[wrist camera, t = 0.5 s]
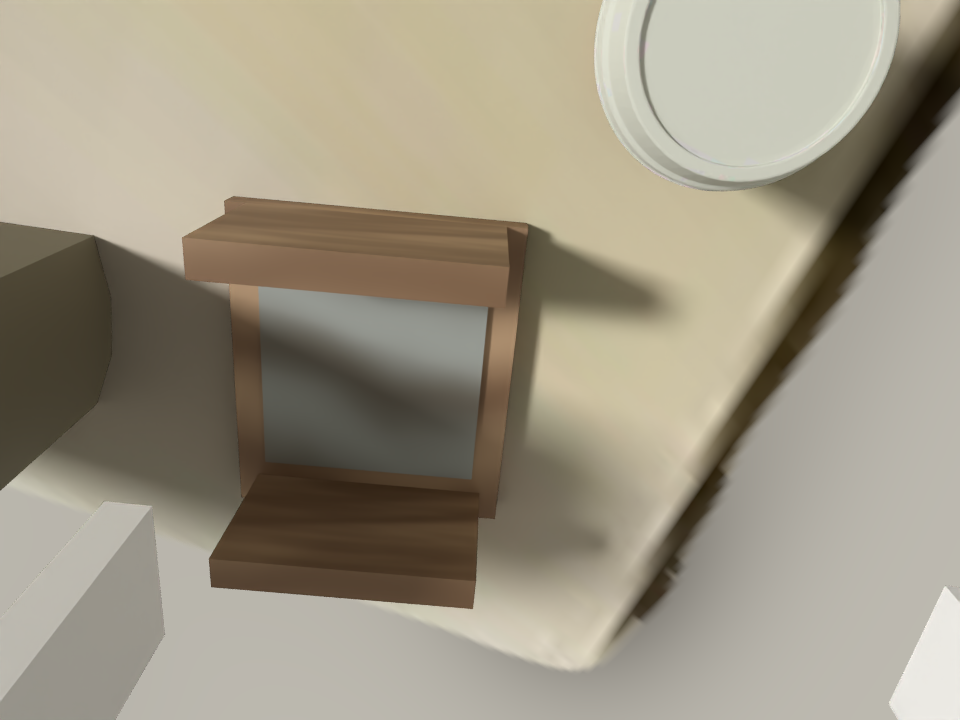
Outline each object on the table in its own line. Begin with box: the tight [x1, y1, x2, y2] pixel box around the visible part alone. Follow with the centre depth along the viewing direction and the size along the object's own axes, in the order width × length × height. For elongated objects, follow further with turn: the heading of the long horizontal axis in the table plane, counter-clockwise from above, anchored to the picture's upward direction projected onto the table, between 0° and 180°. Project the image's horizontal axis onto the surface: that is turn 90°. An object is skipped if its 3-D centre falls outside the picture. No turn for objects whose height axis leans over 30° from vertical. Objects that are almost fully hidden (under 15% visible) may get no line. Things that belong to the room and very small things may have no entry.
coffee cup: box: [594, 0, 900, 191], centre depth 24 cm, size 8×9×12 cm
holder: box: [182, 196, 528, 609], centre depth 32 cm, size 16×14×8 cm
